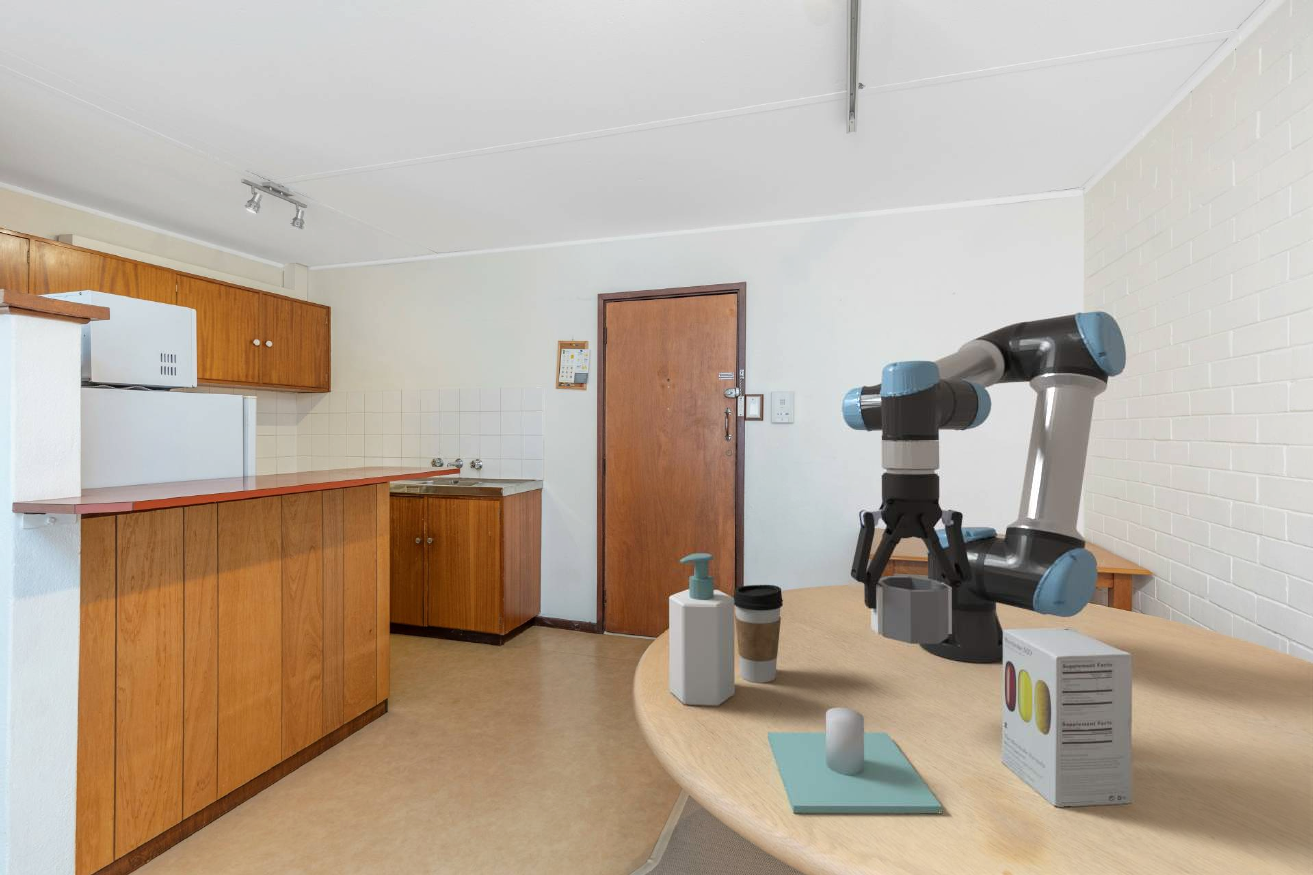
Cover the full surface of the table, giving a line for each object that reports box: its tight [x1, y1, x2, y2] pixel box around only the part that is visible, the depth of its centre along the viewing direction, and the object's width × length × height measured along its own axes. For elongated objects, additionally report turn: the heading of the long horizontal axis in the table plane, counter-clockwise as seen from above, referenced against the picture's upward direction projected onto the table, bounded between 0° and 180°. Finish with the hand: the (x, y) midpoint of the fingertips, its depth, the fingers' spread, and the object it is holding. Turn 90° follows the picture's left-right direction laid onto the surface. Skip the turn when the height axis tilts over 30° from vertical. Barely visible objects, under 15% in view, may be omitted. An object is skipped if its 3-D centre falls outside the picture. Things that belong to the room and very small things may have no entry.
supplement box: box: [1001, 627, 1133, 808], centre depth 70 cm, size 10×9×17 cm
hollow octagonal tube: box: [878, 575, 948, 645], centre depth 84 cm, size 9×9×7 cm
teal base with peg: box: [767, 707, 943, 815], centre depth 72 cm, size 16×16×7 cm
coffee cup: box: [732, 584, 784, 684], centre depth 101 cm, size 8×8×15 cm
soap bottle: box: [668, 552, 736, 707], centre depth 95 cm, size 10×9×22 cm
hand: (910, 630), depth 84 cm, fingers closed on hollow octagonal tube, 9 cm apart
